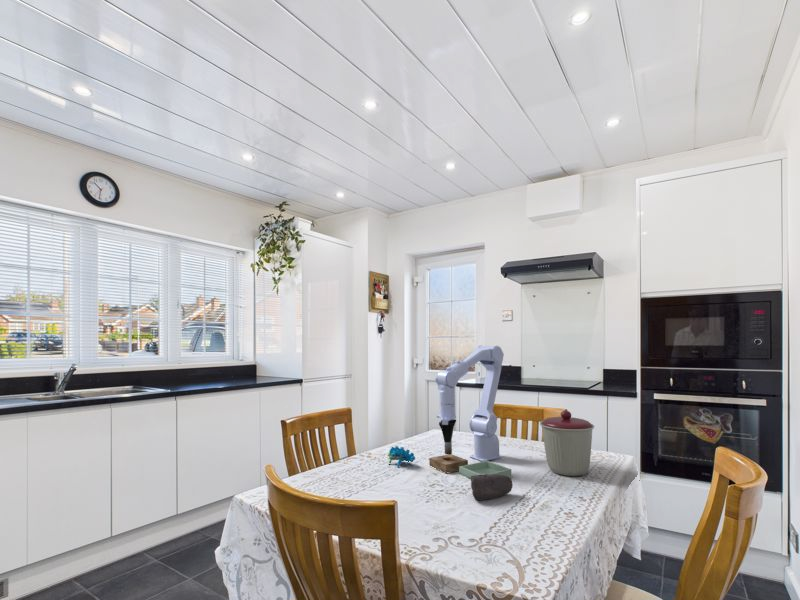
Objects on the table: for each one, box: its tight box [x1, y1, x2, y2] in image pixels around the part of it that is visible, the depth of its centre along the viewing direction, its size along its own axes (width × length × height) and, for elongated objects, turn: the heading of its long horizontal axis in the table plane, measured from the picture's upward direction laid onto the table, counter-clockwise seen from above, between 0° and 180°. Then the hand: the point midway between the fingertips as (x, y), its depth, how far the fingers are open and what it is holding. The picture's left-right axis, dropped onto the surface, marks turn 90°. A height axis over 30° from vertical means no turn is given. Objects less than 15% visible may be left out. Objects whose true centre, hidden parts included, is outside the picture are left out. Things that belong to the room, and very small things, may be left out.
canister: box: [539, 410, 595, 477], centre depth 153 cm, size 18×18×21 cm
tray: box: [458, 460, 512, 480], centre depth 150 cm, size 13×12×2 cm
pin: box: [444, 435, 453, 455], centre depth 160 cm, size 3×3×8 cm
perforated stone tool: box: [470, 474, 513, 501], centre depth 130 cm, size 15×5×7 cm, turn 110°
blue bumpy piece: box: [387, 445, 416, 467], centre depth 162 cm, size 11×6×10 cm
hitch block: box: [428, 454, 469, 474], centre depth 159 cm, size 10×10×3 cm
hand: (448, 441), depth 160 cm, fingers closed on pin, 3 cm apart
